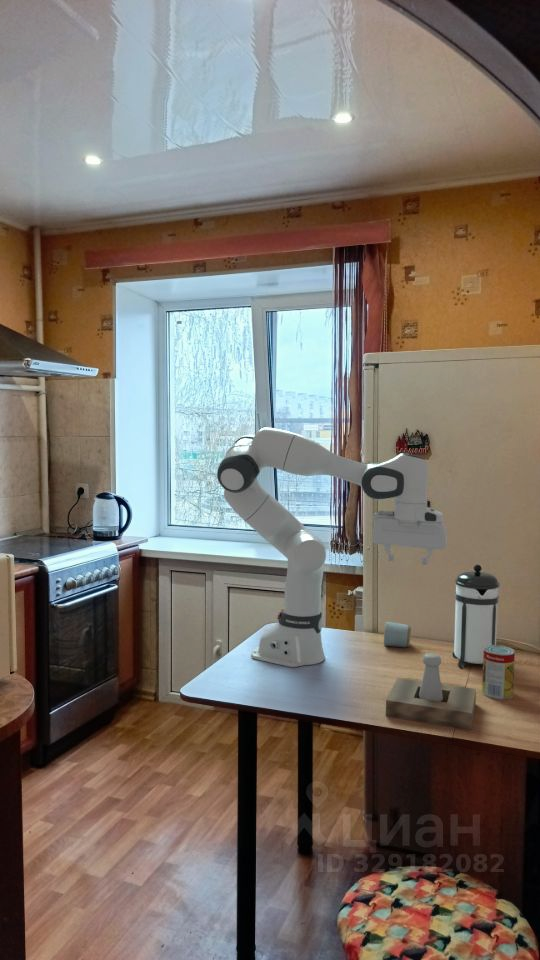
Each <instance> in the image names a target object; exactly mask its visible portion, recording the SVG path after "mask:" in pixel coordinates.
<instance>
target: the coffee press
mask: <svg viewBox="0 0 540 960" xmlns="http://www.w3.org/2000/svg"><path fill="white" fill-rule="evenodd" d="M473 570H474V571H473ZM473 570H472V571H471V570H469V571H464V572H461V573H459V574H458V575H457V577H456V579H455V580H454V585H455V592H454V599H455V608H454V609H455V610H454V611H455V612H454V613H455V614H454V641H453V642H454V643H453V646H454V647H453V649H454V650H453V652H452V657H453V658H457V659H459V661H458V662H457V666H458V668H461V669H464V668H465V667H466V665H467V664H468V663H470V664H476V665H478V664H479V665H483V650H484V647H485V646H488V645H497V629H498V605H499V604H498V603H499V599H500V596H499V588H500V585H501V584H500V582H499V580H498V578H497V577H496V576H495V575H493V574H492V573H488V572H485V571H482V566H481V565H480V564H475V565H474V566H473Z"/></svg>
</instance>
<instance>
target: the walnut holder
mask: <svg viewBox="0 0 540 960" xmlns="http://www.w3.org/2000/svg"><path fill="white" fill-rule="evenodd" d="M421 684H422V680H416V679H415V680H414V679H409V678H408V679H407V678H403V677H402V678H401V677H397V678H396V680H395V681H394V684H393V686H392V688H391V690H390V691H389V693H388V696H387V698H386V699H385V716H386V717H389V718H394V719H396V718H397V719H401V720H407V721H412V722H413V721H414V722H419V723H427V724H433V725H438V726H444V727H445V726H446V727H451V728H458V729H464V730H470V731H471V730H472V727H473V721H474V715H475V708H476V702H477V701H476V700H477V699H476V698H477V688H473V687H466V686H458V685H451V684H444V683H441V688H442V695H443V701H442V702H438V701H432V700H425V699H420V698H419V693H420V688H421Z"/></svg>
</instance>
